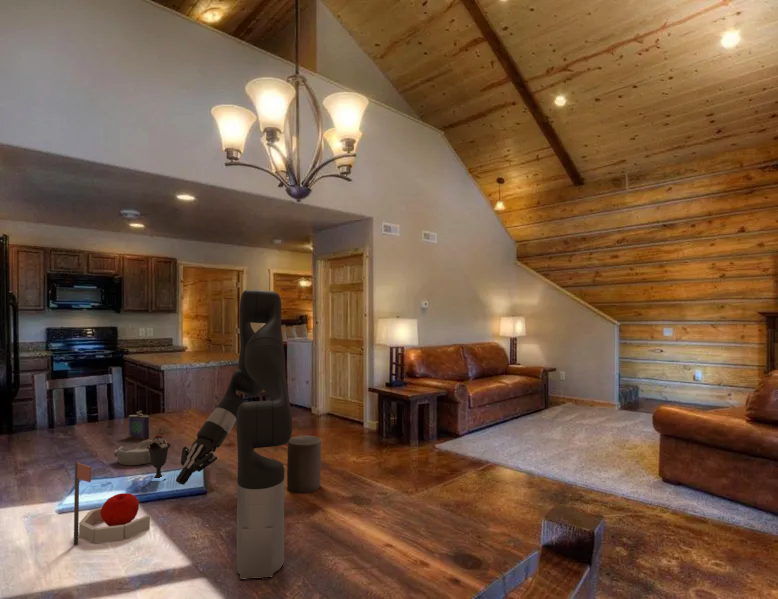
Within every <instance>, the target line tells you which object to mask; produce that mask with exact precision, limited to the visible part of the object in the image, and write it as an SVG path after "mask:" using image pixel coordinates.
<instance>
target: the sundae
mask: <svg viewBox="0 0 778 599" xmlns="http://www.w3.org/2000/svg"><path fill="white" fill-rule="evenodd" d="M161 432H162V428H161V427H160V428H159V432H158V434H156V435H155V437H153V439H151V440H152V442H151V444H150V445H149V446H148V447H147V449H149V453H150V460H151V463H150V464H151V466H152V467H153V468H155V469H156V470H155V471H156V473H155V475H154V476H153V477H154V478H160V477H162V476H163V474H162V472H161V471H162V468H163V466H164V465H165V464H166V463H167V458H168V452H169V448H171V446H172V445H171V442H167V440H166V439H164V436H163V435H162V433H161Z"/></svg>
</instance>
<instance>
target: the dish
mask: <svg viewBox="0 0 778 599" xmlns="http://www.w3.org/2000/svg"><path fill="white" fill-rule="evenodd" d="M152 440H153V439H151V440H150V439H148V440H143V441H141V443H140V444H139V445H138V446H137V447H136V448H135V449H128V448H126V447H125V446H123V445H121V446H119V447H118V448H117V449H114V450H113V456H114V457H117V460H118V463H119V464H120V465H122V466H123V465H125V466H137V465H145V464H151V460H150V453H149V449H147V447H148V446H149V445H150V444H151V442H152Z"/></svg>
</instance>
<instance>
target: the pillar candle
mask: <svg viewBox="0 0 778 599" xmlns="http://www.w3.org/2000/svg"><path fill="white" fill-rule="evenodd" d="M321 452H322V438H320V437H318V436H315V435H306V434H305V435H298V436H293V437H292V436H291V438H290V440H289V442H288V443H287V462H286V467H287V468H286V472H287V473H286V474H287V475H286V477H287V478H286V480H287V481H286V482H287V483H286V489H287V490H288V491H289V492H291V493H294V492H295V493H294V494H308V493H313V492H315V491H317V490H318V489H319V488H320V487H321V468H322V467H321V462H322V460H321V459H322V457H321V456H322V454H321ZM307 492H308V493H307Z"/></svg>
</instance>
